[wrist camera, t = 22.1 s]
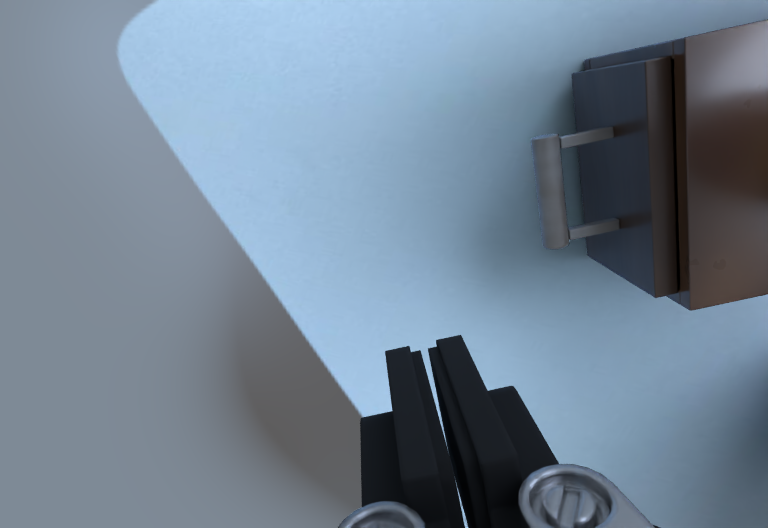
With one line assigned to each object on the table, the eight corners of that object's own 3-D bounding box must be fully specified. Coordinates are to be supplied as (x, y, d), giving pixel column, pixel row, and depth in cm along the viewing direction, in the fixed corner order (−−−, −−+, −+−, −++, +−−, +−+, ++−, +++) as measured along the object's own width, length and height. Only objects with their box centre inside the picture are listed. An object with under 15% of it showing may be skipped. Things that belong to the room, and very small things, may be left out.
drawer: (523, 269, 33) (573, 316, 25) (500, 88, 29) (550, 81, 22) (789, 212, 32) (918, 242, 25) (797, 24, 29) (949, -6, 22)
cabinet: (599, 256, 34) (690, 311, 24) (583, 59, 30) (684, 37, 21) (811, 211, 34) (983, 248, 24) (822, 7, 30) (1030, -39, 21)
